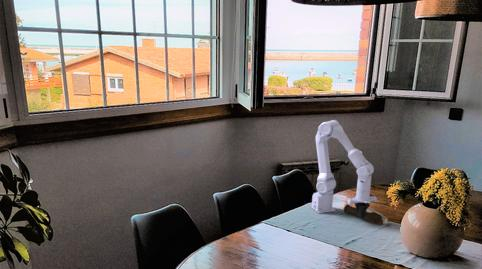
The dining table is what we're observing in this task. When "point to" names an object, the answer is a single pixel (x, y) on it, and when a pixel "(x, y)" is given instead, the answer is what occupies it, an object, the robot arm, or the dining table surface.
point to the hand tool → (365, 215)
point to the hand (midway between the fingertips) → (360, 217)
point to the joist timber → (378, 213)
